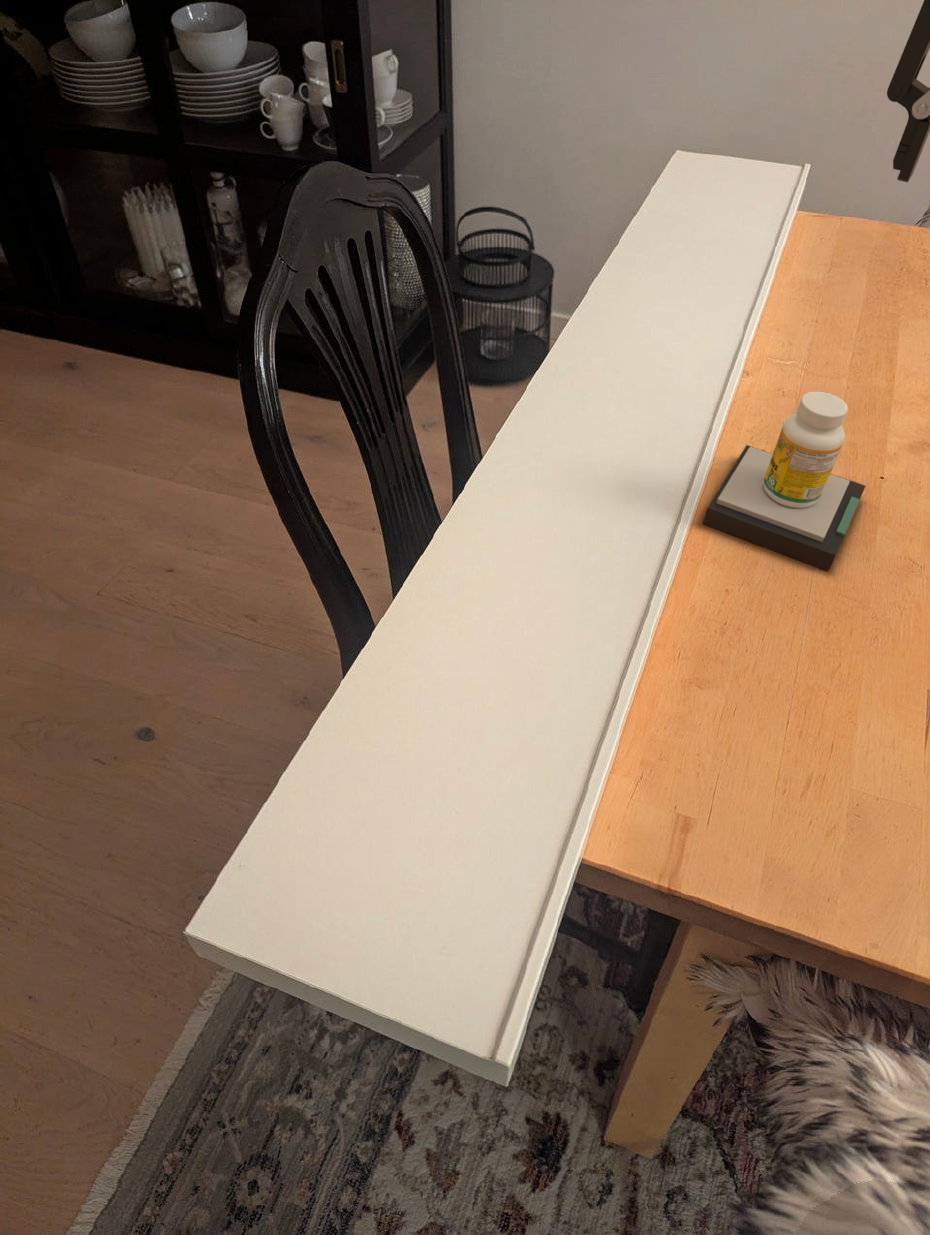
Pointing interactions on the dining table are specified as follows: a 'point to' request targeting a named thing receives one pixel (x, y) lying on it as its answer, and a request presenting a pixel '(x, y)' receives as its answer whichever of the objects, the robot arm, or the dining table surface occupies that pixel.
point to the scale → (783, 513)
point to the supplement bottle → (806, 450)
